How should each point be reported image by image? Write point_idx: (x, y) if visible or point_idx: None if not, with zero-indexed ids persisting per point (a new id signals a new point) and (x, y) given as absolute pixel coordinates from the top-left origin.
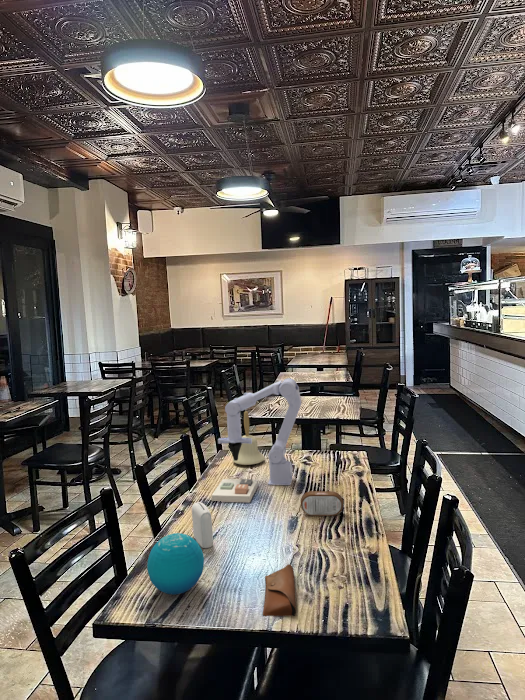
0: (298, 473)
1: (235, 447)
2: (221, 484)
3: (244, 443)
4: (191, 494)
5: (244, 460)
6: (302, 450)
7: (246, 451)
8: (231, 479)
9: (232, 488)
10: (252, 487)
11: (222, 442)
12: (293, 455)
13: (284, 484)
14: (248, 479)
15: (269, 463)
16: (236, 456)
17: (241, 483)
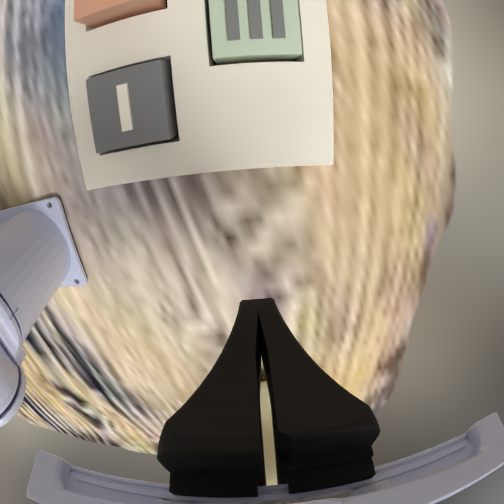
0: (34, 330)
1: (236, 421)
2: (313, 61)
3: (276, 472)
4: (446, 29)
5: (268, 399)
6: (137, 450)
7: (264, 439)
8: (267, 162)
9: (203, 4)
10: (73, 60)
11: (452, 449)
12: (140, 435)
13: (2, 210)
14: (120, 144)
15: (2, 288)
16: (240, 326)
17: (146, 63)
